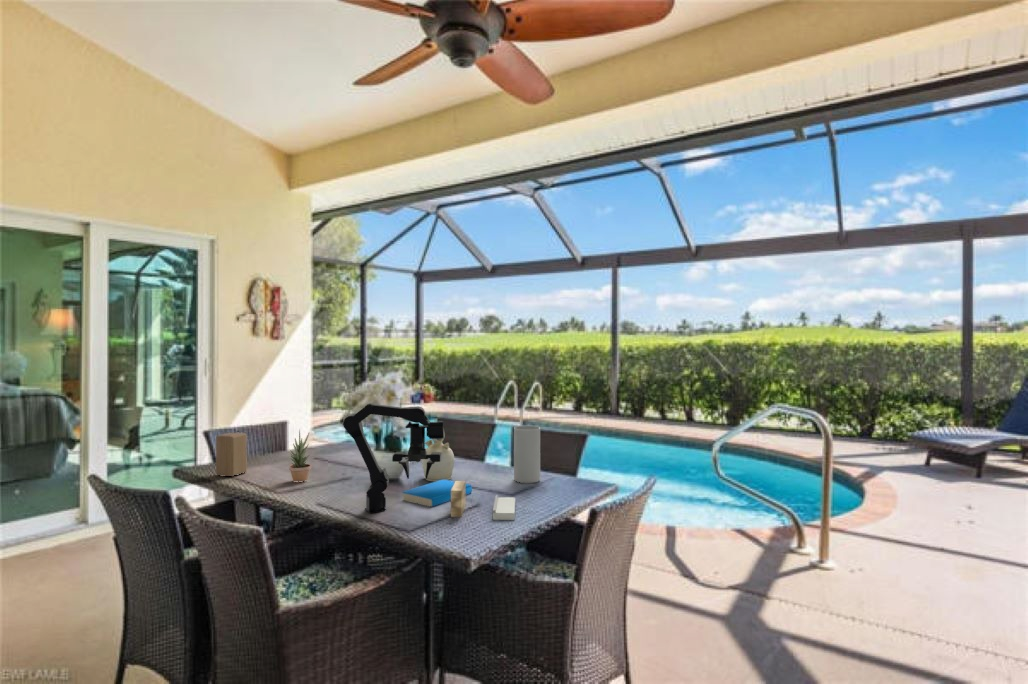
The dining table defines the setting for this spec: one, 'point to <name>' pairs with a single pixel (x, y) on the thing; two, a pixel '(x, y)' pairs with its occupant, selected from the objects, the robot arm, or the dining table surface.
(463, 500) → the oak plank
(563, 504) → the dining table surface
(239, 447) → the wooden block
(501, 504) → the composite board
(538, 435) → the cylinder vase
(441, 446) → the jug
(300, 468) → the potted plant
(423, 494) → the book
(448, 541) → the dining table surface
